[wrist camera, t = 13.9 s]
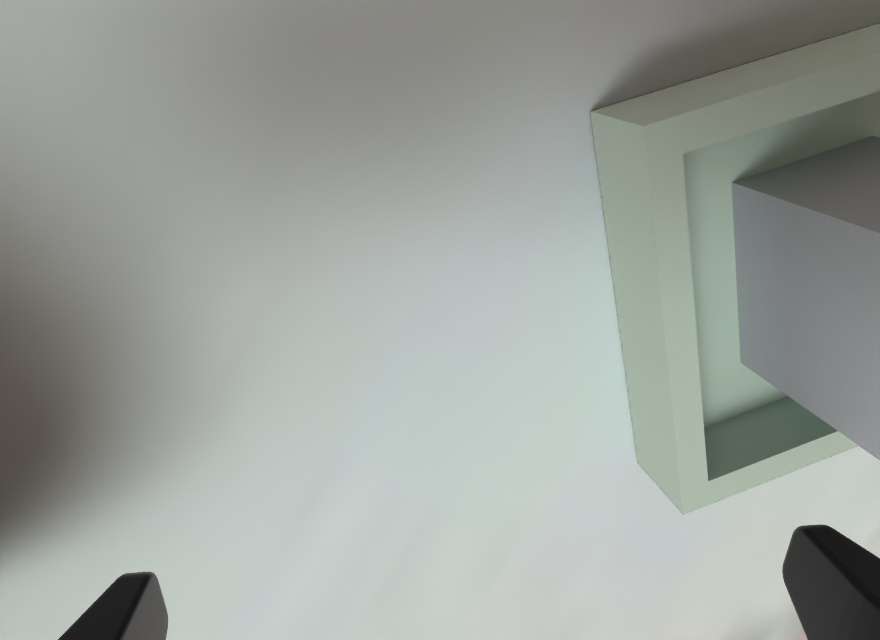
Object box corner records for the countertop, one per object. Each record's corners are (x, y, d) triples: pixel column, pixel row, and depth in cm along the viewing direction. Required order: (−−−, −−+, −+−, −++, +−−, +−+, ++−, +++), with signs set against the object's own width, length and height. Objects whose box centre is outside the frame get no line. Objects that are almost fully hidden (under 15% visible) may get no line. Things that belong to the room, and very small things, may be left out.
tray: (637, 463, 26) (683, 514, 23) (589, 111, 20) (643, 126, 17) (936, 349, 27) (1011, 385, 25) (973, -6, 21) (1076, -9, 19)
